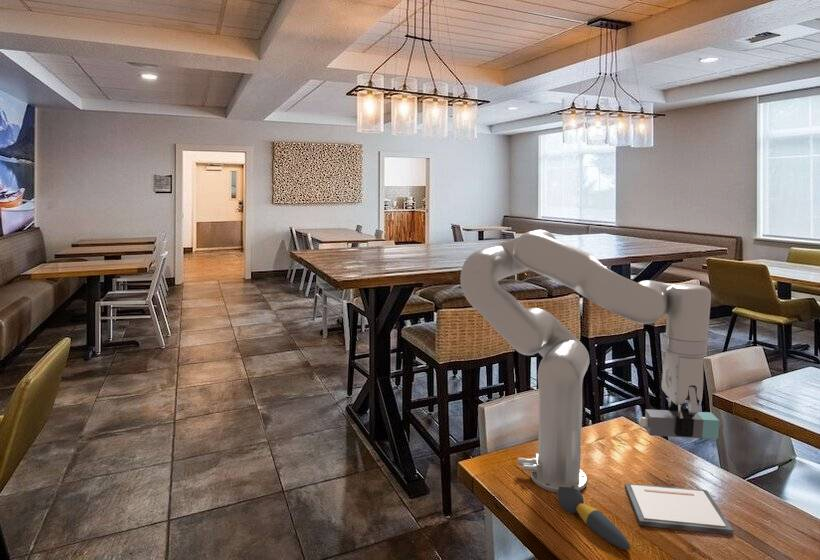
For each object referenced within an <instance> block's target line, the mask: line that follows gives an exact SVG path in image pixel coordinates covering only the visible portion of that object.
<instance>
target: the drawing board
mask: <svg viewBox="0 0 820 560" xmlns="http://www.w3.org/2000/svg"><path fill="white" fill-rule="evenodd" d="M624 489H625V492H626V494H627V497H628V499H629V501H630V504H631V507H632V510H633V512H634V514H635V517H636V520H637V522H638V525H639V526H643V527H650V528H651V527H653V528H660V529H663V528H664V529H671V530H672V529H673V530H683V531H692V532H702V533H709V534H710V533H711V534H721V535H734V529H733V527H732V526H731V525H730V523H729V521H728V520H727V518H726V517H725V515H724V514H723V512H722V511H721V509H720V508H719V506H718V505H717V504H716V502H715V501H714V499H713V497H712V496H711V494H710V493H709V492H708V490H706V489H695V488H685V487H671V486H663V485H662V486H661V485H660V486H659V485H649V484H639V483H638V484H637V483H629V482H628V483H627V482H626V483H624Z"/></svg>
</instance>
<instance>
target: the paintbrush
mask: <svg viewBox="0 0 820 560" xmlns="http://www.w3.org/2000/svg"><path fill="white" fill-rule="evenodd" d="M556 494H557V495H556V496H557V500H558V504H559V505H560V507H561V509H562V510H563V511H565V512H566V513H569V514H576V513H578V515H579V516H580V518H581V520H582V521H583V523H585V524H586V526H587V527H588V528H589V529H590V530H592V531H593V532H594V533H595V534H596V535H598V536H599V537H601V538H602V539H603V540H605V541H606V542H608V543H610V544H611V545H613V546H615V547H618V548H619V549H622V550H626V551H628V550H630V549H631V544H630V542H629V541H628V539H627V538H626V536H625V535H624V533H623V532H622V530H620V529H619V527H617V525H615V524H614V523H613V522H612V521H611V520H610V519H609V518H608V517H607V516H606V515H604V514H603V513H602V512H601V511H599V510H598V509H596V508H594V507H591V506H589V505H587V504H584V496H583V494H582V493H581V491H578V490H577V489H575V488H571V487H560V486H559V489H558V493H556Z"/></svg>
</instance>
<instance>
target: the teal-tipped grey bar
mask: <svg viewBox="0 0 820 560" xmlns="http://www.w3.org/2000/svg"><path fill="white" fill-rule="evenodd" d="M676 416H678V411H670V410H667V409H645V411H644V416H639V418H638V422H639V423H638V424H639V427H640V428H644V429H645V430H646V433H648V436H652V437H653V436H655V437H670V438H671V437H672V438H673V437H674V438H685V437H684V436H676V434H675V427H676ZM719 428H720V419H719V418H718V417H716V415H714V413H713V412H708V411H698V413H697V414H695V419H694V427H693V436H692V437H686V438H688V439H689V438H692V439H708V440H718V439H719V433H720V432H719V431H720V429H719Z"/></svg>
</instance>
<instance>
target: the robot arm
mask: <svg viewBox="0 0 820 560" xmlns="http://www.w3.org/2000/svg"><path fill="white" fill-rule="evenodd" d="M526 271H527V272H528V271H531V272H534V273H536V274H538V275H540V276H542V277H545V278H547V279H549V280H551V281H554V282H556V283H558V284H559V285H560V284H561V285H562V286H564V287H567V288H569V289H572V290H573V291H575V292H576V293H578V295H581V296H582V297H583V298H586V299H587V300H589V301H591V302H592V303H594V304H596V305H597V306H598V307H600V308H603V309H605V310H606V311H608V312H611V313H613V314H615V315H617V316H619V317H622V318H624V319H627V320H629V321H630V322H634V323H636V324H641V325H650V324H653V323H656V322H659V320H661V318H663V317H664V316H665V317H666V323H665V324H666V325H665V341H664V351H665V355H664V360H663V368H662V375H661V387H660V388H661V389H662V391H663V393H664V394H665V396H667V397H668V403H667V404H668V407H667V408H668V410H670V411H678V416H676V427H675V434H676V436H684V437H683V438H687V437H692V436H693V427H694V419H695V414H697V413H698V412H699V408H698V407H699V406H700V405H701V404H702V401H703V393H704V392H703V391H704V357H706V356H707V353H708V352H707V351H708V339H709V328H710V316H711V315H710V314H711V301H712V293H711V290H710V289H709V287H706V286H705V285H700V284H693V283H691V284H689V283H679V284H676V283H675V284H674V283H669V282H668V283H666V282H662V281H656V280H652V279H651V280H650V279H649V280H648V279H647V280H645V279H644V280H641V281H638V282H636V281H634V280H632V279H629V278H627V277H624V276H622V275H620V274H618V273H617V272H615V271H613V270H611V269H609V268H607V266H605V265H604V264H602V262H601V261H599V258H597V257H596V256H594V255H593V254H591V253H589V252H586V251H584V250H582V249H580V248H577V247H575V246H572V245H570V244H567V243H564V242H562V241H561V240H560V241H559V240H557V238H556V237H555V236H554V234H552V233H551V232H549V231H548V230H543V229H535V230H530V231H527V232H524V233H522V234H521V235H519V236H518V237H516V238H513V239H511V240H507V241H505V242H502V243H499V244H496V245H492V246H489V247H486V248H481V249H478V250H476V251H474V252H473V253H471V254H470V255H469V256H468V257H467V258H466V259H465V261H464V263H463V265H462V267H461V271H460V286H461V291H462V293H463V295H464V297H465V299H466V301H467V302H468V303H469V304H470V306H471V307H473V309H474V310H475V311H476V312H478V314H479V315H481V317H483V319H484V320H485V321H487V323H489V325H490V326H491V328H493V329H494V330H495V331H496V332H497V333H498V334H499V335H500V336H501V337H502V338H503V339H504V340H505V341H506V342H507V343H508V344H509V345H510V346H511V347H512V348H513V349H514V350H515V351H516V352H517V353H519V354H521V355H524V356H533V355H535V354H539V355H540V356H541V357H542V359H541V360H540V362H539V364H538V365H539V366H538V369H537V385H538V446H537V447H538V448H537V453H535V457H531V458H526V457H518V458H517V462H518V463H517V465H518V467H523V471H524V472H530V477H531V480H532V482H534V484H535V485H537V486H538V487H540V488H542V489H544V490H546V491H549V492H552V493H556V494H557V493H558V489H559V486H560V487H571V488H575V489H577V490H578V491H579V492H581V491H582V490H584V489H585V487H586V486H587V483H588V481H587V480H588V478H587V475H586V473H585V472H584V471H583V470H582V469H581V455H582V430H583V429H582V427H583V424H582V423H583V382H584V377H585V375H586V373H587V371H588V368H589V365H590V354H589V351H588V349H587V348H586V346H585V345H584V344H583V343H582V342H581V340H579V339H578V338H577V337H576V336H575V335H574V334H573V333H572V332H571V331H570V330H569V329H568V328H567V327H566V326H564V324H563V323H561V322H560V320H558V319H557V318H556V317H555V316H554V315H553V314H552V313H551V312H548V311H547V310H545V309H542V308H539V307H531V308H527V307H525V306H524V305H523V304H522V303H520V301H519V300H518V299H517V298H516V297H515V296H514V295H512V294H511V293H510V292H509V291H507V290H506V289H504V288H503V287H502V286H501V285H500V284H499V282H500V281H502V280H504V279H506V278H508V277H509V278H510V277H511V276H515V275H517V274H520V273H525V272H526ZM686 401H687V402H686ZM685 407H687V408H685Z"/></svg>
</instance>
